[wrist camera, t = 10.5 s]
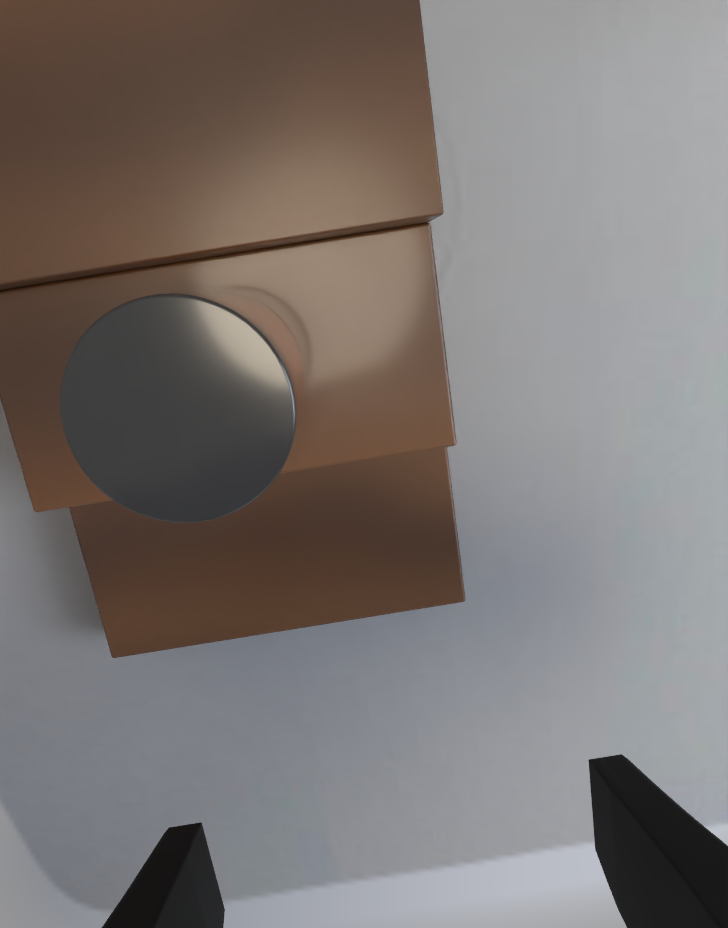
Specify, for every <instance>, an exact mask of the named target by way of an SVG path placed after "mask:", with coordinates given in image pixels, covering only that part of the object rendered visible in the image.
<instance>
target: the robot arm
mask: <svg viewBox="0 0 728 928" xmlns="http://www.w3.org/2000/svg"><path fill="white" fill-rule="evenodd" d="M589 770H590V783H591V797H592V810H593V823H594V837H595V849H596V852H597V855H598V857H599V860H600V863H601V865H602V868H603V871H604V874H605V876H606V879H607V882H608V884H609V887H610V889H611V892H612V895H613V897H614V900H615V902H616V905H617V907H618V910H619V912H620V914H621V916H622V918H623V920H624V922H625V924H626V926H627V928H728V846H727V845H726V844H725V843H723V842H722V841H721V840H720V839H719V838H717V837H716V836H715V835H714V834H713V833H711V832H710V831H709V830H708V829H706V828H705V827H704V826H703V825H702V824H700V823H699V822H698V821H697V820H695V819H694V818H693V817H692V816H691V815H690V814H688V813H687V812H686V811H685V810H684V809H683V808H681V807H680V806H679V805H678V804H677V803H676V802H675V801H673V800H672V799H671V798H670V797H669V796H668V795H667V794H666V793H664V792H663V791H662V790H661V789H660V788H659V787H658V786H657V785H656V784H654V783H653V782H652V781H651V780H650V779H649V778H648V777H647V776H646V775H645V774H643V773H642V772H641V771H640V770H639V769H638V768H637V767H636V766H635V765H634V764H633V763H631V762H630V761H629V760H628V759H627V758H626V757H624V756H623V755H622V754H621V755H615V756H609V757H603V758H597V759H590V760H589ZM224 911H225V909H224V905H223V902H222V898H221V894H220V890H219V887H218V883H217V879H216V875H215V872H214V868H213V864H212V860H211V856H210V853H209V849H208V845H207V841H206V838H205V834H204V830H203V826H202V823H195V824H189V825H183V826H177V827H170V828H168V829H167V831H166V832H165V833H164V835H163V836H162V838H161V839H160V841H159V842H158V844H157V845H156V847H155V849H154V850H153V852H152V853H151V855H150V856H149V858H148V859H147V861H146V862H145V864H144V866H143V867H142V869H141V870H140V872H139V873H138V875H137V876H136V878H135V879H134V881H133V882H132V884H131V885H130V887H129V889H128V890H127V892H126V893H125V895H124V896H123V898H122V899H121V901H120V902H119V903H118V905H117V906H116V908H115V909H114V911H113V912H112V914H111V915H110V917H109V918H108V919H107V921H106V922H105V924H104V926H103V927H102V928H223V923H224Z"/></svg>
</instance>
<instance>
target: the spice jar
mask: <svg viewBox="0 0 728 928" xmlns="http://www.w3.org/2000/svg"><path fill="white" fill-rule="evenodd" d="M303 386H304V368H303V361H302V357H301V353H300V350H299V347H298V344H297V342H296V340H295V338H294V336H293V334H292V333H291V331H290V330H289V328H288V327H287V325H286V324H285V323H284V322H283V321H282V320H281V318H280V317H279V316H278V315H277V314H275V313H274V312H273V311H272V310H271V309H270V308H268V307H267V306H265V305H264V304H262V303H261V302H259V301H257V300H255V299H253V298H250V297H248V296H245V295H242V294H238V293H234V292H228V291H206V292H198V293H163V294H155V295H149V296H144V297H140V298H137V299H134V300H131V301H128V302H125V303H123V304H121V305H119V306H117V307H115V308H113V309H111V310H110V311H109V312H107V313H106V314H104V315H103V316H101V317H100V318H99V319H98V320H97V321H95V322H94V323H93V324H92V325H91V326H90V327H89V328H88V329H87V330H86V332H85V333H84V334H83V335H82V337H81V338H80V339H79V340H78V342H77V344H76V346H75V347H74V349H73V351H72V352H71V354H70V357H69V359H68V362H67V364H66V367H65V370H64V374H63V378H62V382H61V392H60V413H61V419H62V425H63V429H64V433H65V436H66V439H67V442H68V445H69V447H70V449H71V451H72V453H73V455H74V457H75V459H76V461H77V462H78V464H79V465H80V467H81V469H82V470H83V471H84V473H85V474H86V475H87V476H88V478H89V479H90V480H91V481H92V482H93V483H94V484H95V485H96V486H97V487H98V488H99V489H100V490H101V491H102V492H103V493H104V494H106V495H107V496H108V497H110V498H111V499H112V500H114V501H115V502H117V503H118V504H120V505H122V506H123V507H125V508H127V509H129V510H131V511H133V512H135V513H138V514H140V515H143V516H146V517H149V518H152V519H156V520H161V521H166V522H174V523H197V522H204V521H210V520H215V519H218V518H221V517H224V516H227V515H230V514H232V513H234V512H236V511H238V510H240V509H242V508H244V507H245V506H247V505H248V504H250V503H252V502H253V501H254V500H256V499H257V498H258V497H259V496H260V495H261V494H263V493H264V492H265V491H266V490H267V488H268V487H269V486H270V485H271V484H272V483H273V482H274V480H275V479H276V478H277V476H278V475H279V473H280V472H281V470H282V468H283V466H284V464H285V462H286V460H287V458H288V456H289V453H290V450H291V447H292V444H293V440H294V436H295V431H296V426H297V416H298V409H299V405H300V401H301V397H302V392H303Z"/></svg>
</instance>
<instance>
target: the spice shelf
mask: <svg viewBox="0 0 728 928" xmlns="http://www.w3.org/2000/svg"><path fill="white" fill-rule="evenodd" d="M442 214H443V203H442V194H441V185H440V176H439V168H438V159H437V150H436V141H435V132H434V124H433V115H432V106H431V97H430V89H429V80H428V71H427V62H426V53H425V45H424V36H423V27H422V18H421V10H420V1H419V0H0V399H1V402H2V406H3V409H4V412H5V416H6V419H7V422H8V426H9V429H10V432H11V436H12V439H13V442H14V445H15V449H16V452H17V455H18V459H19V462H20V465H21V469H22V472H23V475H24V479H25V482H26V485H27V489H28V492H29V495H30V499H31V502H32V505H33V509H34V511H35V512H43V511H49V510H55V509H61V508H68V507H69V508H70V512H71V515H72V519H73V522H74V526H75V529H76V533H77V536H78V540H79V543H80V547H81V550H82V554H83V557H84V561H85V564H86V568H87V571H88V575H89V578H90V582H91V585H92V589H93V592H94V596H95V599H96V603H97V606H98V610H99V613H100V617H101V620H102V624H103V627H104V631H105V634H106V638H107V641H108V645H109V648H110V652H111V655H112V657H113V658H117V657H123V656H129V655H135V654H142V653H148V652H154V651H160V650H166V649H173V648H179V647H185V646H191V645H198V644H204V643H210V642H216V641H222V640H229V639H235V638H241V637H247V636H253V635H260V634H266V633H272V632H278V631H285V630H291V629H297V628H303V627H309V626H316V625H322V624H328V623H334V622H341V621H347V620H353V619H359V618H365V617H372V616H378V615H384V614H390V613H396V612H403V611H409V610H415V609H421V608H428V607H434V606H440V605H446V604H452V603H459V602H464V601H465V591H464V583H463V575H462V567H461V559H460V551H459V542H458V534H457V526H456V518H455V510H454V502H453V494H452V486H451V478H450V470H449V462H448V453H447V447H449V446H454V445H456V435H455V426H454V418H453V409H452V401H451V393H450V384H449V376H448V367H447V359H446V351H445V342H444V334H443V326H442V317H441V309H440V300H439V292H438V284H437V275H436V267H435V259H434V250H433V242H432V233H431V226H430V224H429V223H428V222H430V221H431V220H433V219H435V218H437V217H439V216H440V215H442ZM206 291H228V292H234V293H238V294H242V295H245V296H248V297H250V298H253V299H255V300H257V301H259V302H261V303H262V304H264V305H265V306H267V307H268V308H270V309H271V310H272V311H273V312H274V313H275V314H277V315H278V316H279V317H280V318H281V320H282V321H283V322H284V323H285V324H286V325H287V327H288V328H289V330H290V331H291V333H292V334H293V336H294V338H295V340H296V342H297V344H298V347H299V350H300V353H301V357H302V361H303V368H304V386H303V392H302V397H301V401H300V405H299V409H298V416H297V426H296V431H295V436H294V440H293V444H292V447H291V450H290V453H289V456H288V458H287V460H286V462H285V464H284V466H283V468H282V470H281V472H280V473H279V475H278V476H277V478H276V479H275V480H274V482H273V483H272V484H271V485H270V486H269V487H268V488H267V490H266V491H265V492H264V493H263V494H261V495H260V496H259V497H258V498H257V499H256V500H254V501H253V502H252V503H250V504H248V505H247V506H245V507H244V508H242V509H240V510H238V511H236V512H234V513H232V514H230V515H227V516H224V517H221V518H218V519H215V520H210V521H204V522H197V523H174V522H166V521H161V520H156V519H152V518H149V517H146V516H143V515H140V514H138V513H135V512H133V511H131V510H129V509H127V508H125V507H123V506H122V505H120V504H118V503H117V502H115V501H114V500H112V499H111V498H110V497H108V496H107V495H106V494H104V493H103V492H102V491H101V490H100V489H99V488H98V487H97V486H96V485H95V484H94V483H93V482H92V481H91V480H90V479H89V478H88V476H87V475H86V474H85V473H84V471H83V470H82V469H81V467H80V465H79V464H78V462H77V461H76V459H75V457H74V455H73V453H72V451H71V449H70V447H69V445H68V442H67V439H66V436H65V433H64V429H63V425H62V419H61V413H60V392H61V382H62V378H63V374H64V370H65V367H66V364H67V362H68V359H69V357H70V354H71V352H72V351H73V349H74V347H75V346H76V344H77V342H78V340H79V339H80V338H81V337H82V335H83V334H84V333H85V332H86V330H87V329H88V328H89V327H90V326H91V325H92V324H93V323H94V322H95V321H97V320H98V319H99V318H100V317H101V316H103V315H104V314H106V313H107V312H109V311H110V310H111V309H113V308H115V307H117V306H119V305H121V304H123V303H125V302H128V301H131V300H134V299H137V298H140V297H144V296H149V295H155V294H163V293H198V292H206Z"/></svg>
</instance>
